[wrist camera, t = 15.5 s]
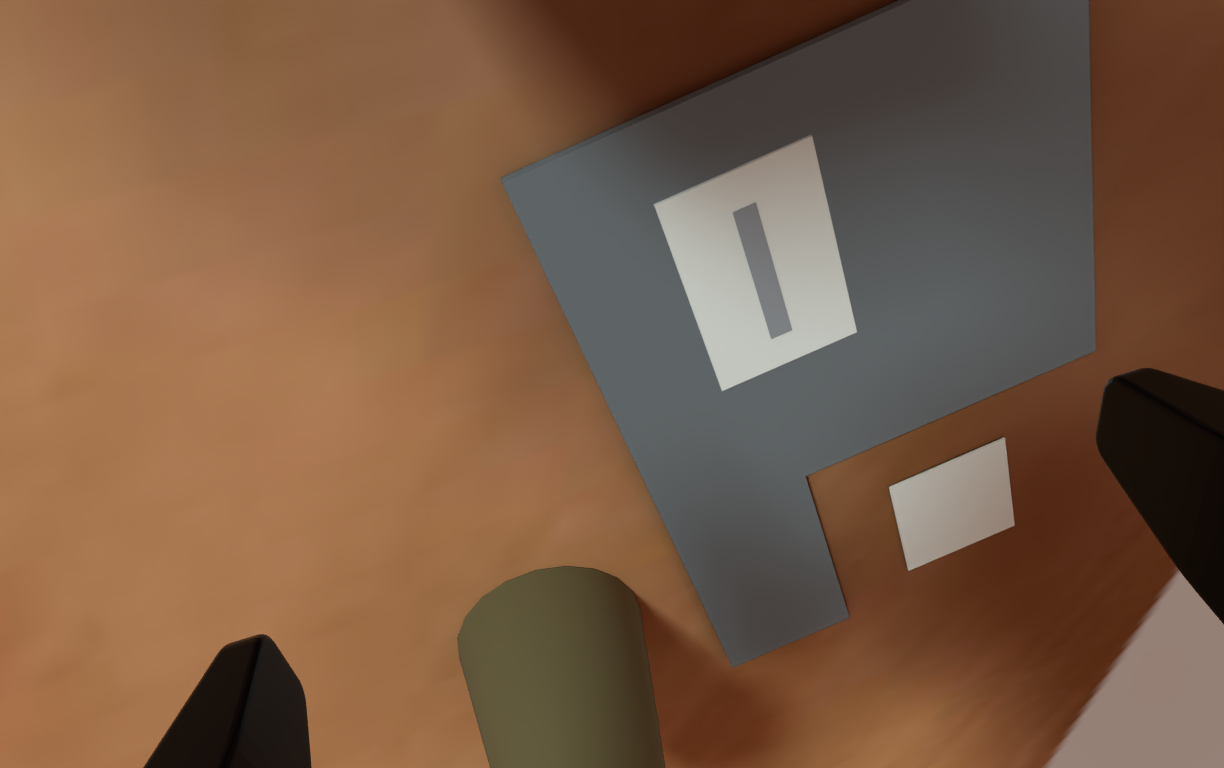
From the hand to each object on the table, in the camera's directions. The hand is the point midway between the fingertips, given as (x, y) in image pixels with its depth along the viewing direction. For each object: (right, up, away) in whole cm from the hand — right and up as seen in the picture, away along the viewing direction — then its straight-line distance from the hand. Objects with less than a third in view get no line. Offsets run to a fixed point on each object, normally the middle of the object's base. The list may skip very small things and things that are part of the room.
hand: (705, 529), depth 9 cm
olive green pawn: (-3, -7, +20) cm, 21 cm away
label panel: (+6, +2, +17) cm, 18 cm away
